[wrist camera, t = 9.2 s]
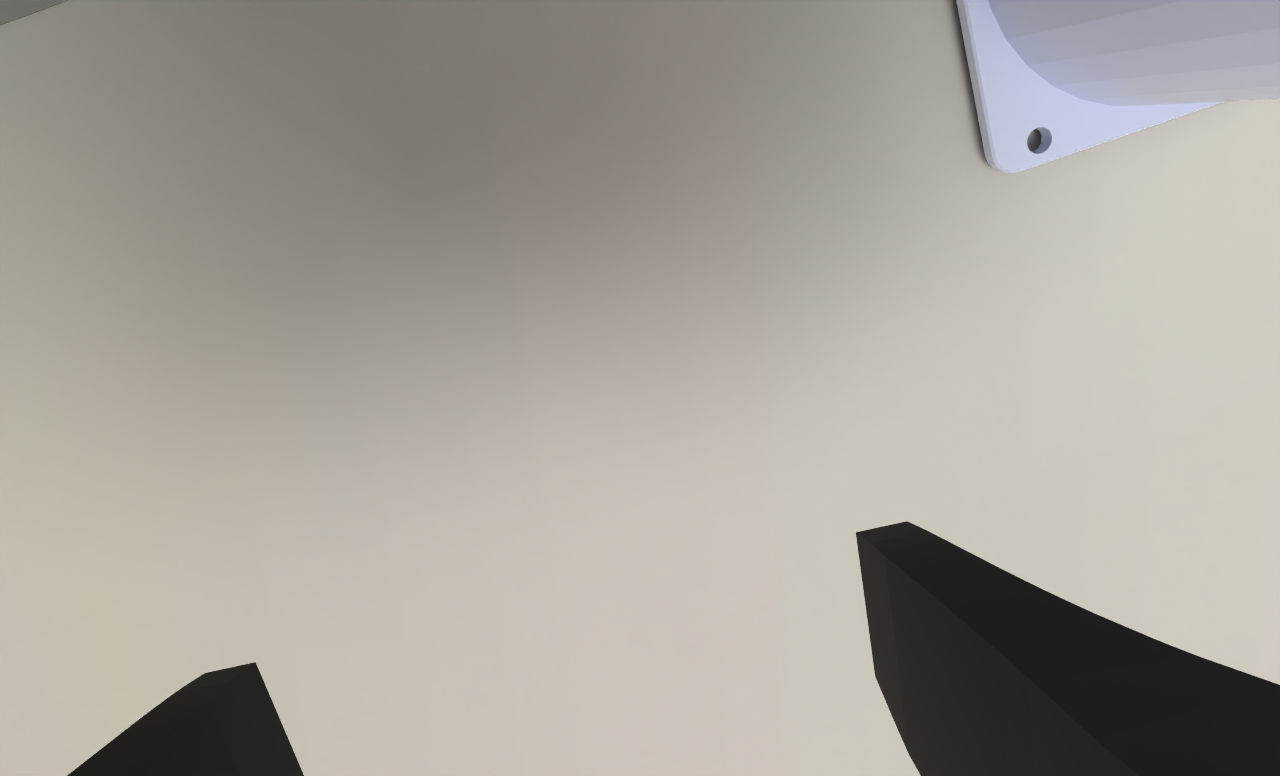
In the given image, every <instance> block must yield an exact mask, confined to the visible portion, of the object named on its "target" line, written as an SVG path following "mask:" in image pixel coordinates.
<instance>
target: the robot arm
mask: <svg viewBox="0 0 1280 776" xmlns="http://www.w3.org/2000/svg"><path fill="white" fill-rule="evenodd" d="M956 1H957V7H958V12H959V18H960V23H961V28H962V34H963V39H964V45H965V50H966V55H967V61H968V66H969V72H970V77H971V82H972V88H973V93H974V99H975V104H976V109H977V115H978V120H979V126H980V131H981V136H982V142H983V147H984V153H985V157H986V159H987V162H988V164H989V165H990V166H991V167H992V168H993V169H994V170H996V171H999V172H1003V173H1016V172H1021V171H1024V170H1027V169H1029V168H1032V167H1035V166H1038V165H1041V164H1044V163H1047V162H1050V161H1053V160H1056V159H1059V158H1062V157H1065V156H1067V155H1070V154H1073V153H1076V152H1079V151H1082V150H1085V149H1088V148H1091V147H1094V146H1097V145H1100V144H1102V143H1105V142H1108V141H1111V140H1114V139H1117V138H1120V137H1123V136H1126V135H1129V134H1132V133H1135V132H1137V131H1140V130H1143V129H1146V128H1149V127H1152V126H1155V125H1158V124H1161V123H1164V122H1167V121H1170V120H1172V119H1175V118H1178V117H1181V116H1184V115H1187V114H1190V113H1193V112H1196V111H1199V110H1202V109H1205V108H1208V107H1210V106H1213V105H1216V104H1219V103H1222V102H1231V101H1253V100H1274V99H1280V0H956ZM1035 129H1038V130H1039V131H1040V134H1041V136H1042V138H1041V144H1040V146H1039V147H1038V149H1037V150H1035V151H1034V152H1031V151H1030V150H1029V148H1028V146H1027V139H1028V136H1029V135H1030V133H1031V131H1033V130H1035ZM856 537H857V544H858V551H859V559H860V566H861V574H862V581H863V588H864V596H865V603H866V611H867V618H868V626H869V633H870V640H871V648H872V655H873V663H874V670H875V676H876V679H877V681H878V684H879V686H880V688H881V691H882V693H883V695H884V698H885V700H886V703H887V705H888V707H889V710H890V712H891V714H892V717H893V719H894V721H895V724H896V726H897V728H898V731H899V733H900V735H901V737H902V740H903V742H904V744H905V746H906V749H907V751H908V753H909V755H910V757H911V759H912V761H913V762H914V764H915V766H916V768H917V769H918V771H919V773H920V775H921V776H1280V685H1278V684H1275V683H1272V682H1270V681H1267V680H1264V679H1261V678H1258V677H1255V676H1252V675H1250V674H1247V673H1244V672H1241V671H1238V670H1235V669H1233V668H1230V667H1227V666H1224V665H1221V664H1218V663H1216V662H1213V661H1210V660H1207V659H1204V658H1201V657H1199V656H1196V655H1194V654H1191V653H1188V652H1186V651H1183V650H1181V649H1178V648H1175V647H1173V646H1170V645H1168V644H1165V643H1163V642H1160V641H1158V640H1155V639H1153V638H1151V637H1148V636H1146V635H1144V634H1141V633H1139V632H1137V631H1134V630H1132V629H1129V628H1127V627H1125V626H1122V625H1120V624H1118V623H1115V622H1113V621H1111V620H1108V619H1106V618H1104V617H1101V616H1099V615H1097V614H1094V613H1092V612H1090V611H1088V610H1086V609H1083V608H1081V607H1079V606H1077V605H1075V604H1072V603H1070V602H1068V601H1066V600H1064V599H1062V598H1060V597H1057V596H1055V595H1053V594H1051V593H1049V592H1047V591H1045V590H1043V589H1041V588H1039V587H1037V586H1035V585H1032V584H1030V583H1028V582H1026V581H1024V580H1022V579H1020V578H1018V577H1016V576H1014V575H1012V574H1010V573H1008V572H1006V571H1004V570H1002V569H1000V568H998V567H996V566H994V565H992V564H991V563H989V562H987V561H985V560H983V559H981V558H979V557H977V556H975V555H973V554H971V553H969V552H967V551H965V550H963V549H961V548H960V547H958V546H956V545H954V544H952V543H950V542H948V541H946V540H944V539H942V538H940V537H938V536H936V535H934V534H932V533H930V532H928V531H926V530H924V529H922V528H920V527H918V526H916V525H914V524H912V523H909V522H902V523H898V524H893V525H888V526H884V527H879V528H875V529H870V530H865V531H861V532H856ZM68 776H304V775H303V772H302V770H301V768H300V765H299V763H298V761H297V758H296V756H295V754H294V751H293V749H292V747H291V744H290V742H289V740H288V737H287V735H286V733H285V730H284V728H283V726H282V723H281V721H280V719H279V716H278V714H277V712H276V709H275V707H274V705H273V702H272V700H271V698H270V695H269V693H268V691H267V688H266V686H265V683H264V681H263V679H262V676H261V674H260V672H259V669H258V667H257V665H256V662H255V663H250V664H245V665H241V666H236V667H232V668H227V669H222V670H218V671H213V672H208V673H205V674H203V675H201V676H200V677H198V678H197V679H195V680H194V681H192V682H190V683H189V684H187V685H186V686H184V687H183V688H181V689H180V690H178V691H177V692H176V693H174V694H173V695H171V696H170V697H169V698H167V699H166V700H165V701H163V702H162V703H160V704H159V705H158V706H156V707H155V708H154V709H152V710H151V711H150V712H148V713H147V714H146V715H144V716H143V717H142V718H141V719H139V720H138V721H137V722H135V723H134V724H133V725H131V726H130V727H129V728H128V729H126V730H125V731H124V732H122V733H121V734H120V735H119V736H117V737H116V738H115V739H113V740H112V741H111V742H110V743H108V744H107V745H106V746H105V747H103V748H102V749H101V750H99V751H98V752H97V753H96V754H94V755H93V756H92V757H91V758H89V759H88V760H87V761H85V762H84V763H83V764H82V765H80V766H79V767H78V768H76V769H75V770H74V771H73V772H71V773H70V774H69V775H68Z"/></svg>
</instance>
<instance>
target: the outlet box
mask: <svg viewBox="0 0 1280 776" xmlns="http://www.w3.org/2000/svg"><path fill="white" fill-rule="evenodd" d="M64 1H67V0H0V25H2V24H5V23H7V22H10V21H13V20H16V19H18V18H21V17H24V16H26V15H29V14H32V13H35V12H37V11H40V10H43V9H45V8H48V7H51V6H54V5H56V4H59V3H62V2H64Z"/></svg>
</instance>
